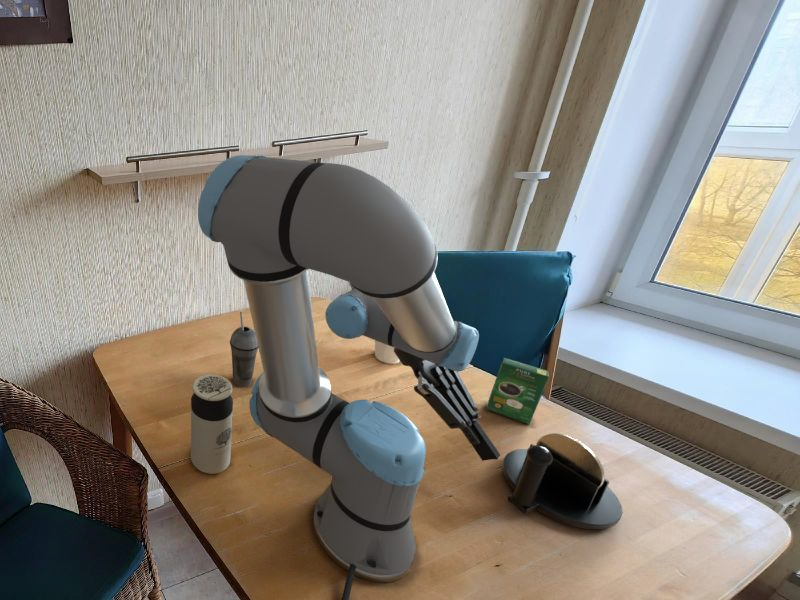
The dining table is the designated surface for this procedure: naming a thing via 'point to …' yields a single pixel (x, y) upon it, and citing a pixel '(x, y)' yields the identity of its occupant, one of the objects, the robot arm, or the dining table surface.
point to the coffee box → (517, 390)
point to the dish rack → (562, 482)
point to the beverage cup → (243, 354)
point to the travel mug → (211, 423)
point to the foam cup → (385, 353)
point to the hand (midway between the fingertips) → (491, 457)
